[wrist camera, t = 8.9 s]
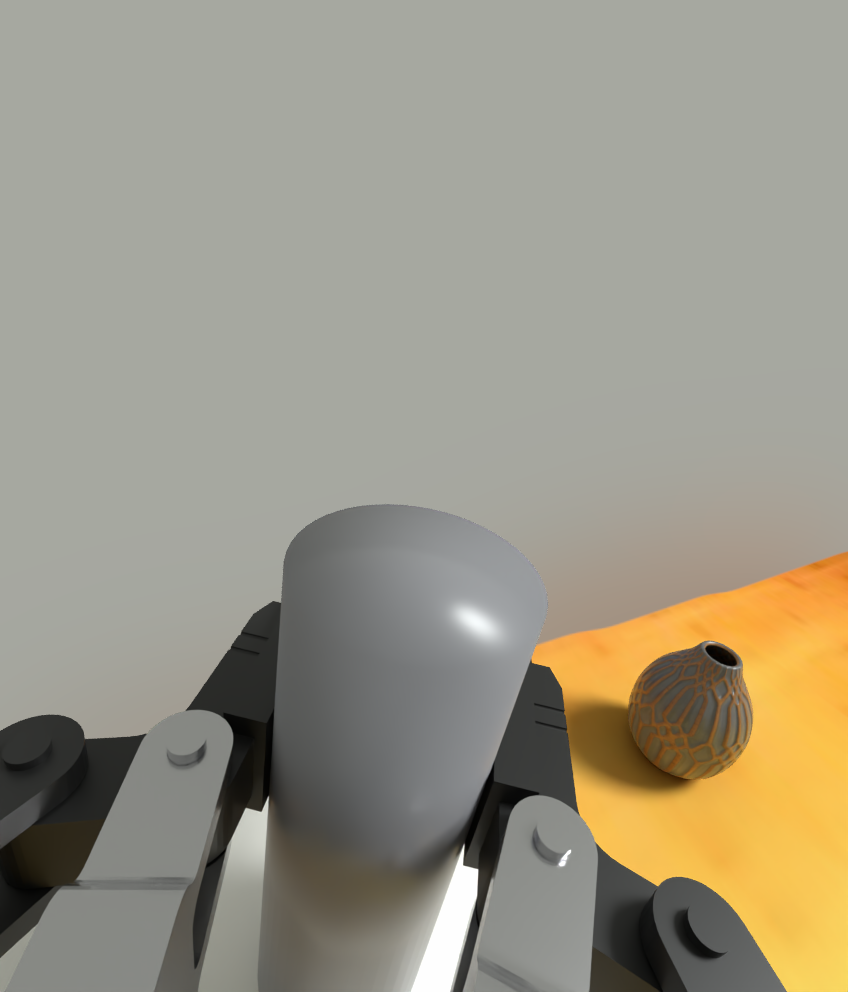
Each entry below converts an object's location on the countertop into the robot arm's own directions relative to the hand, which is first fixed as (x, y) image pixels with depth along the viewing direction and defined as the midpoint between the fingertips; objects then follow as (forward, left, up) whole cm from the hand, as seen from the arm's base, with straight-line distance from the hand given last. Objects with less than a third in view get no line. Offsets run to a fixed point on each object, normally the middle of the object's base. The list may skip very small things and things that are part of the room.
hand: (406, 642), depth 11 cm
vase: (-25, +5, -20) cm, 32 cm away
